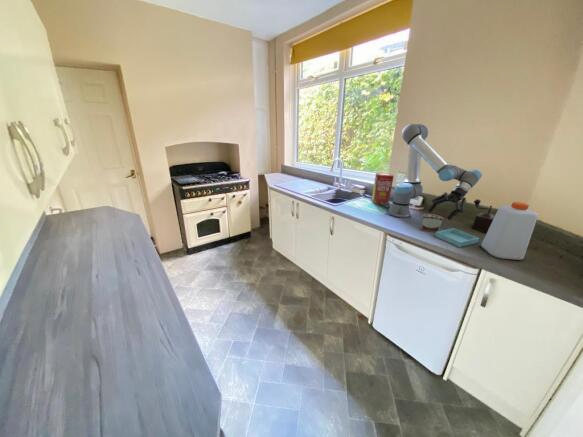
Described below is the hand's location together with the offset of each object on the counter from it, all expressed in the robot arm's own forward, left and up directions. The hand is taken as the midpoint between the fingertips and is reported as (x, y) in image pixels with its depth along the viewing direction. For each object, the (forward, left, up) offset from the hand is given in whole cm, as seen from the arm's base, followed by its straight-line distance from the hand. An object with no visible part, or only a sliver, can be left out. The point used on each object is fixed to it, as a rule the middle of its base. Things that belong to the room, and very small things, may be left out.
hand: (438, 214), depth 151 cm
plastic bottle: (+35, +5, -10) cm, 37 cm away
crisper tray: (+15, -2, -10) cm, 18 cm away
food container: (-1, -4, -10) cm, 11 cm away
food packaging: (-59, +7, -10) cm, 60 cm away
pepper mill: (+9, +32, -10) cm, 34 cm away
